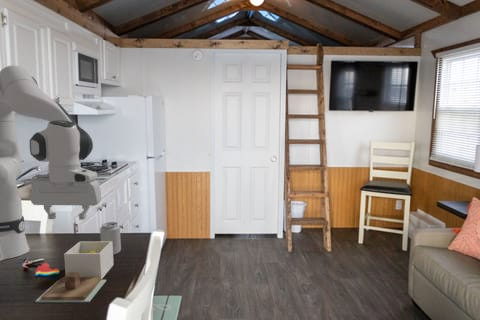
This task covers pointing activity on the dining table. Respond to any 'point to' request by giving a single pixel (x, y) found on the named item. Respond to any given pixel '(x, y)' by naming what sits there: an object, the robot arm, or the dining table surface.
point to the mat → (76, 300)
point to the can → (111, 235)
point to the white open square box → (90, 259)
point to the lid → (72, 287)
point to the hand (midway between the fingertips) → (67, 219)
